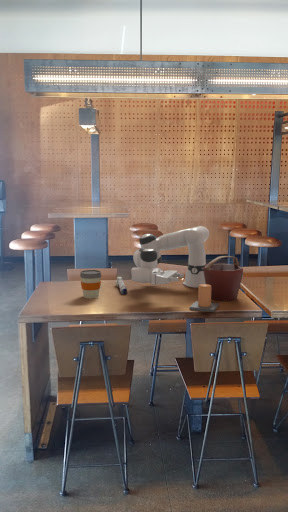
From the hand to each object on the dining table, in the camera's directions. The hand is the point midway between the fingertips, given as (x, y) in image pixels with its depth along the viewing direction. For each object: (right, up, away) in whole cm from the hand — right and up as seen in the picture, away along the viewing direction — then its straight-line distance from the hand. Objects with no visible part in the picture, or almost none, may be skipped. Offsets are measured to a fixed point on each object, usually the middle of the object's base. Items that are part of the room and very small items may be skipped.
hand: (181, 277), depth 248 cm
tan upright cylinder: (+13, -15, -1) cm, 20 cm away
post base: (+13, -16, -1) cm, 21 cm away
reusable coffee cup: (-52, -12, +22) cm, 58 cm away
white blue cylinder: (-35, -10, +40) cm, 54 cm away
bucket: (+27, -13, +20) cm, 36 cm away
